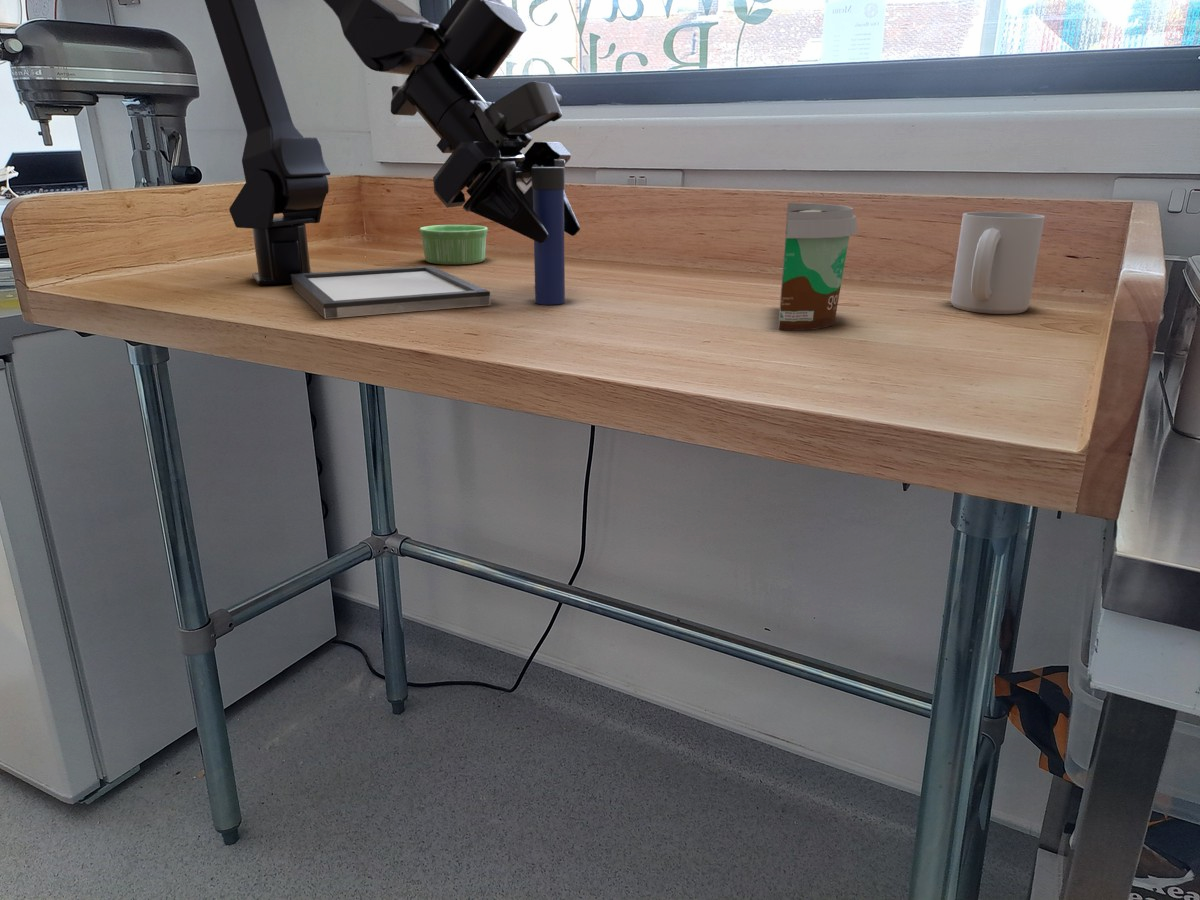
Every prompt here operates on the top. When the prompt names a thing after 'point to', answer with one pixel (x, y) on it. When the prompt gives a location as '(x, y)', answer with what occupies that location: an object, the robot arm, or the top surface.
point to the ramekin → (454, 244)
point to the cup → (996, 261)
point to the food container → (814, 263)
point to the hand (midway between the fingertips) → (561, 236)
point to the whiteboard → (386, 291)
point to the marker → (550, 252)
